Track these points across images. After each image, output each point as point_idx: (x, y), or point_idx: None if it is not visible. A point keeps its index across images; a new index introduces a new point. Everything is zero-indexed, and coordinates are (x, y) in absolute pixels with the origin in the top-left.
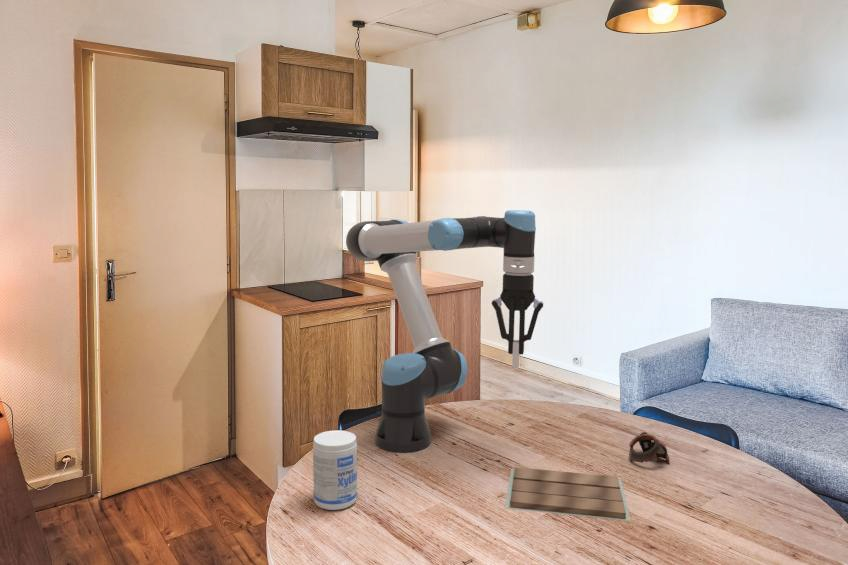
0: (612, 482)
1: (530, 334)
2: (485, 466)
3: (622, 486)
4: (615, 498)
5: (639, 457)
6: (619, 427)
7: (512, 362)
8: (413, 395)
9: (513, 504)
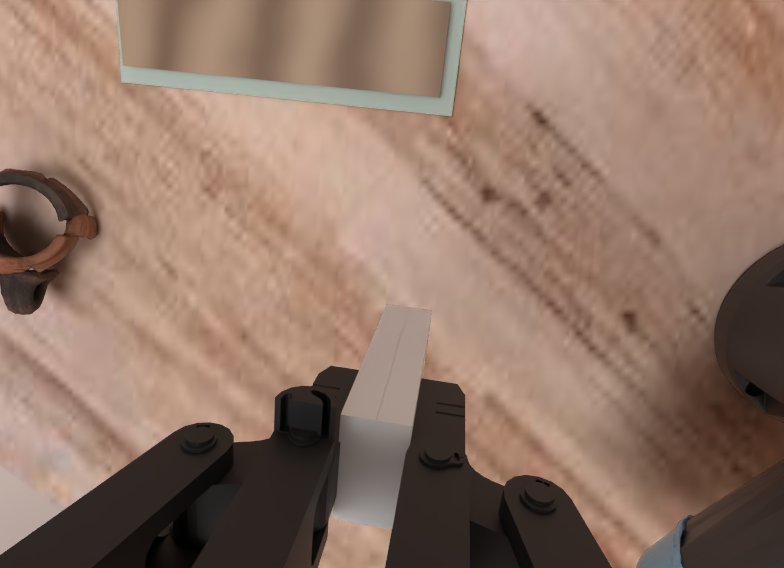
0: (136, 12)
1: (153, 468)
2: (535, 143)
3: (118, 30)
4: None
5: (51, 186)
6: (122, 454)
7: (428, 326)
8: None
9: None
